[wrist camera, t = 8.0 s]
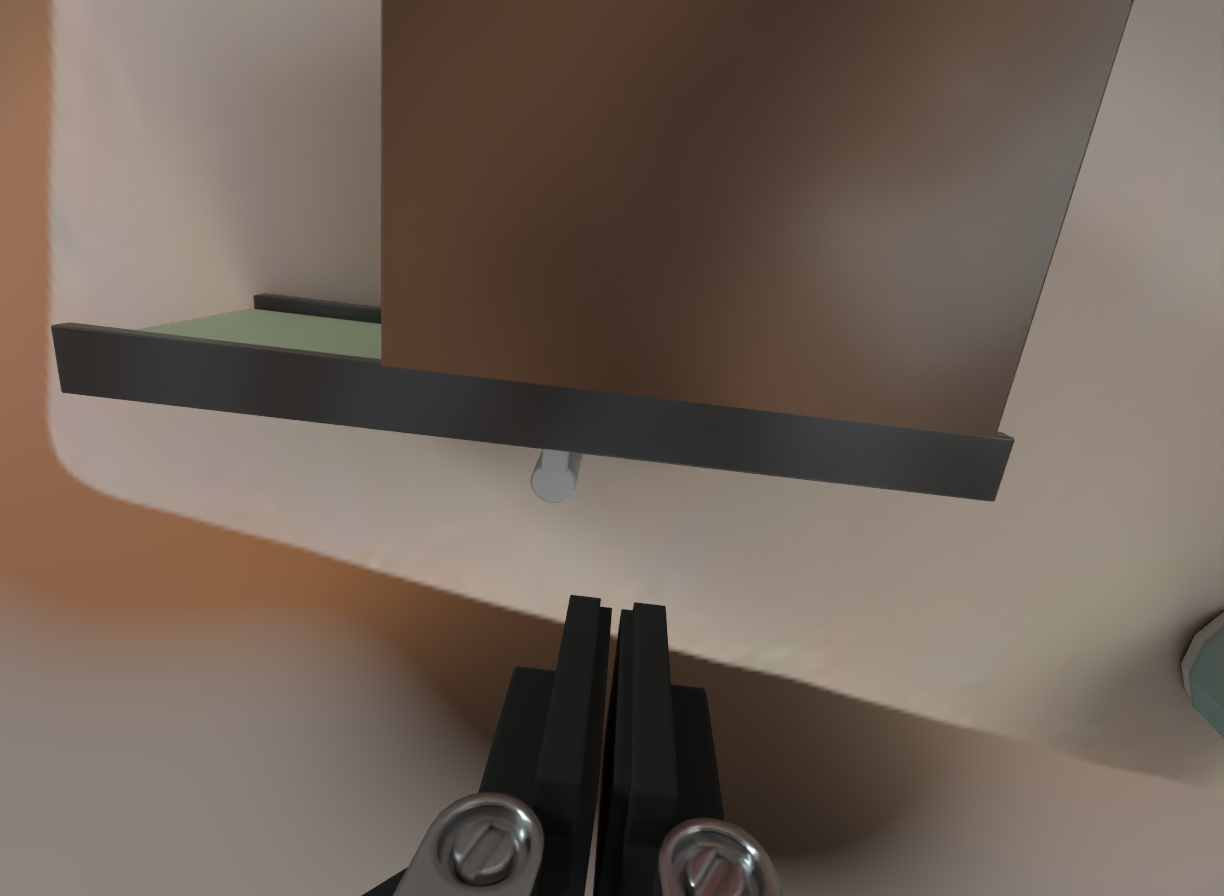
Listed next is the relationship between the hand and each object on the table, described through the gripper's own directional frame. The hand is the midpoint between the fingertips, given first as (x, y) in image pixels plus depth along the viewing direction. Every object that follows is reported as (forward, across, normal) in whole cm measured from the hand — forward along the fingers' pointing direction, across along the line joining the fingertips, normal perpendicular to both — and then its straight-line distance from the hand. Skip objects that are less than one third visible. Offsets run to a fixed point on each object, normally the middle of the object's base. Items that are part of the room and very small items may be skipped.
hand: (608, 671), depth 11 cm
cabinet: (+17, +3, -7) cm, 18 cm away
